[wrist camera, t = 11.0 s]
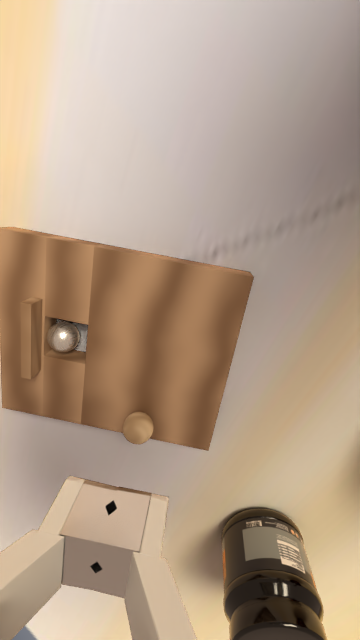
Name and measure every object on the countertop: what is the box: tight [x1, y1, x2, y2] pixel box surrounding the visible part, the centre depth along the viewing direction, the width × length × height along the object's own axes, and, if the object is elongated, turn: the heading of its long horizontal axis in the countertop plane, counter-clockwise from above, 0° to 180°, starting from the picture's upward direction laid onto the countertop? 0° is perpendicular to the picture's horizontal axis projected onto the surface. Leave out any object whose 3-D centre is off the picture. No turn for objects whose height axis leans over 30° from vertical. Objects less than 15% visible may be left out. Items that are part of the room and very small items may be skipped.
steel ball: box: [47, 322, 80, 352], centre depth 31 cm, size 3×3×3 cm
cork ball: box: [123, 412, 154, 444], centre depth 31 cm, size 3×3×3 cm
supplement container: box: [221, 509, 327, 640], centre depth 34 cm, size 10×10×12 cm
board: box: [0, 227, 254, 450], centre depth 31 cm, size 24×20×4 cm
